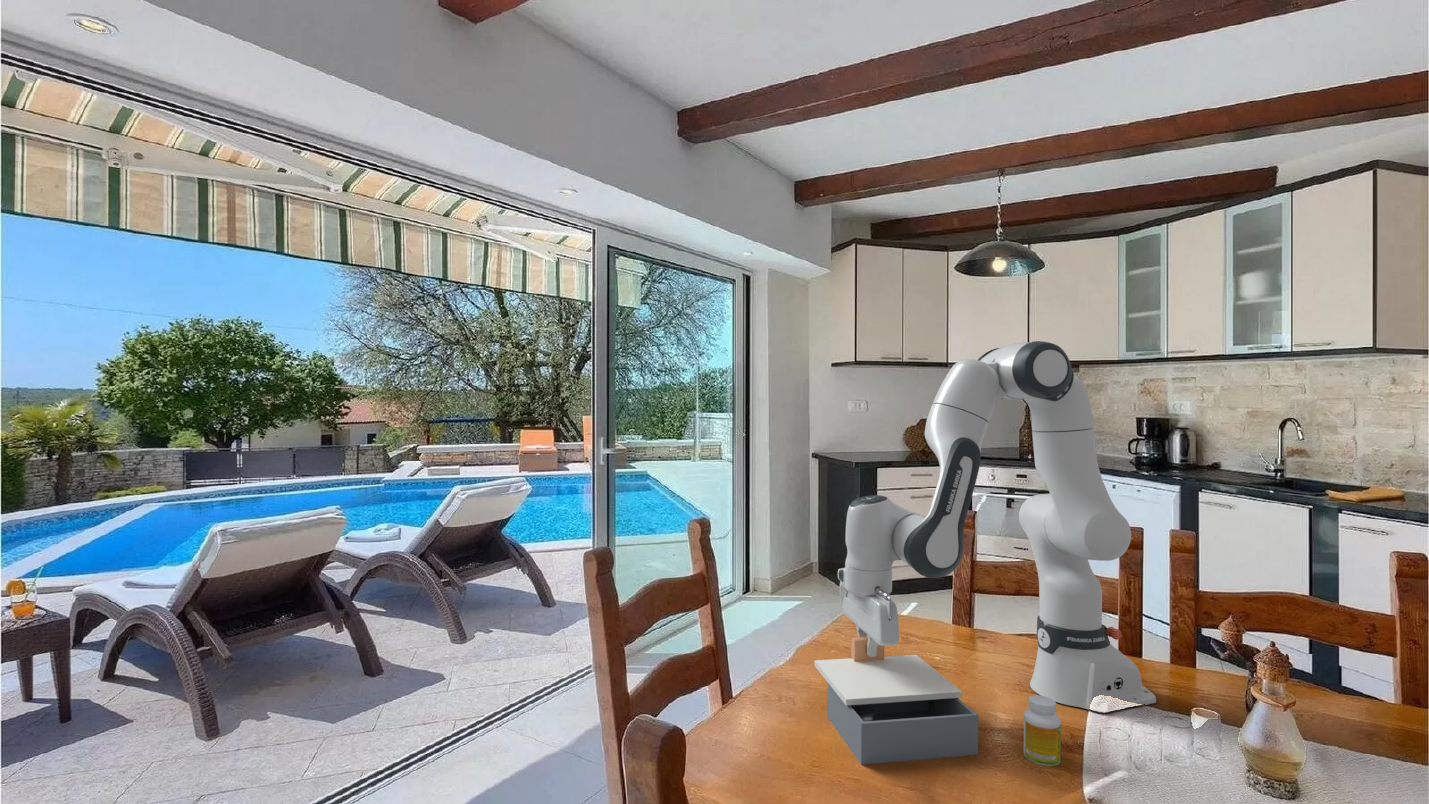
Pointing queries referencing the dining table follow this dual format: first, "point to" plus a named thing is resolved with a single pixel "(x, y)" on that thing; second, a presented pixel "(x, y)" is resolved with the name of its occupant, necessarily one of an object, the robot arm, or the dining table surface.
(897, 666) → the lid
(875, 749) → the tub
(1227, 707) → the dining table surface
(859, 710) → the metal round part
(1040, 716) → the supplement bottle
